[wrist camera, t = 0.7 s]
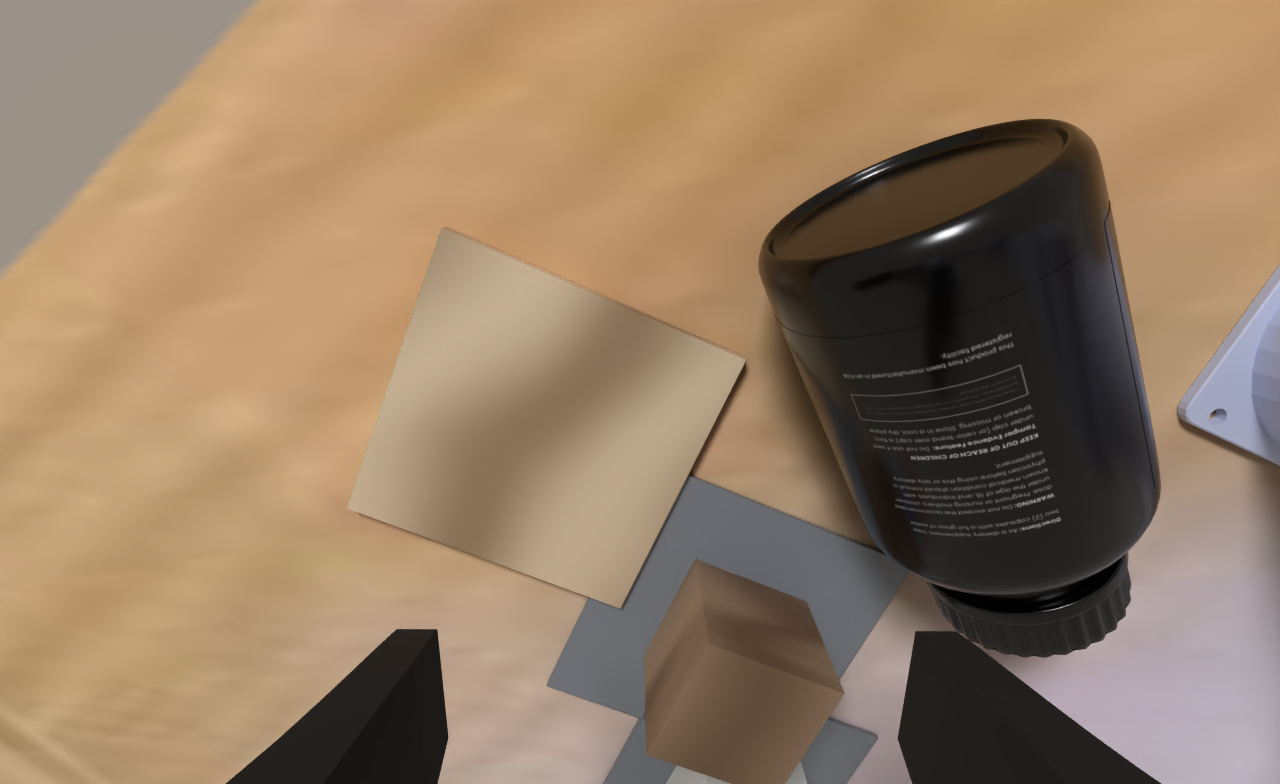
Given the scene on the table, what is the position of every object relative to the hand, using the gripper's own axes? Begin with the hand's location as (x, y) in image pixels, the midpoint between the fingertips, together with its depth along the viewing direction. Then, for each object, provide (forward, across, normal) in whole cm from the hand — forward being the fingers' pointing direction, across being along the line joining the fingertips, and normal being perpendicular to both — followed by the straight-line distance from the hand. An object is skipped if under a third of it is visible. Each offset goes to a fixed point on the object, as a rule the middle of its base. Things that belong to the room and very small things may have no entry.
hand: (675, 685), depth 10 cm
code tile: (+10, -2, +7) cm, 12 cm away
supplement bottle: (+6, -5, -7) cm, 11 cm away
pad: (+10, +3, 0) cm, 11 cm away
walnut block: (+10, -2, +7) cm, 12 cm away
